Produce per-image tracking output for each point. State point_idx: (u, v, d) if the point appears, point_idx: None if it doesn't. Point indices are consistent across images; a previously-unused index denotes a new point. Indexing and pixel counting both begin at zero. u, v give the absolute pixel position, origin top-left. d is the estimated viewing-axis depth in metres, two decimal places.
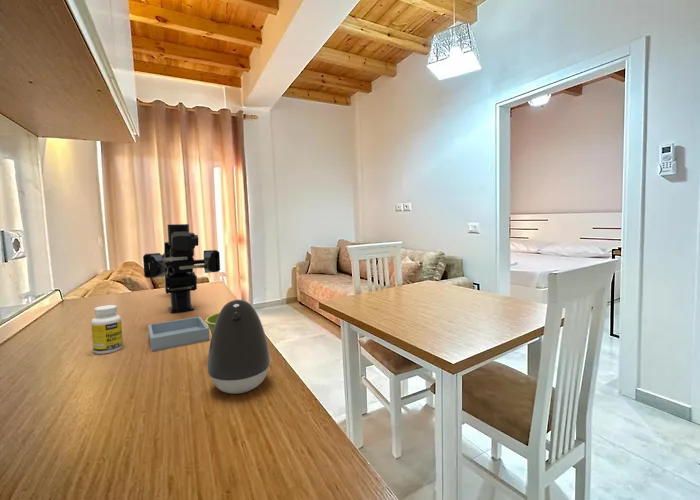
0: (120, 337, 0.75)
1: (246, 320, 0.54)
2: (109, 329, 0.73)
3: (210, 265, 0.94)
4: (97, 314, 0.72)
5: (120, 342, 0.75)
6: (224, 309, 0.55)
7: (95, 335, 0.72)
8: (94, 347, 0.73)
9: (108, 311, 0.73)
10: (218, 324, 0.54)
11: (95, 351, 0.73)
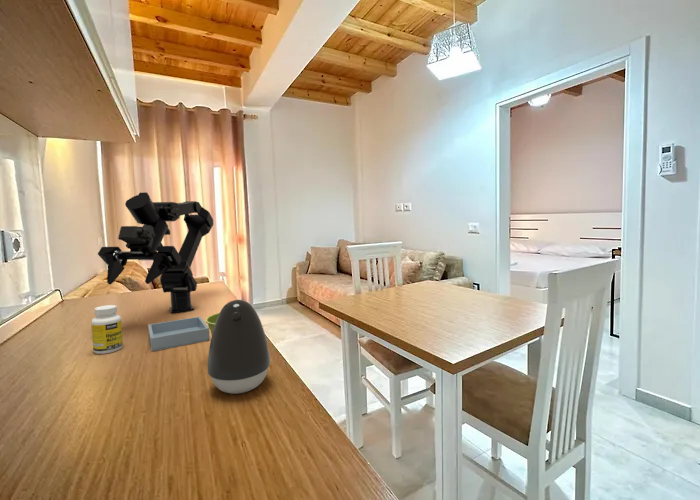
0: (120, 337, 0.75)
1: (246, 320, 0.54)
2: (109, 329, 0.73)
3: (165, 264, 0.87)
4: (97, 314, 0.72)
5: (120, 342, 0.75)
6: (224, 309, 0.55)
7: (95, 335, 0.72)
8: (94, 347, 0.73)
9: (108, 311, 0.73)
10: (218, 324, 0.54)
11: (95, 351, 0.73)
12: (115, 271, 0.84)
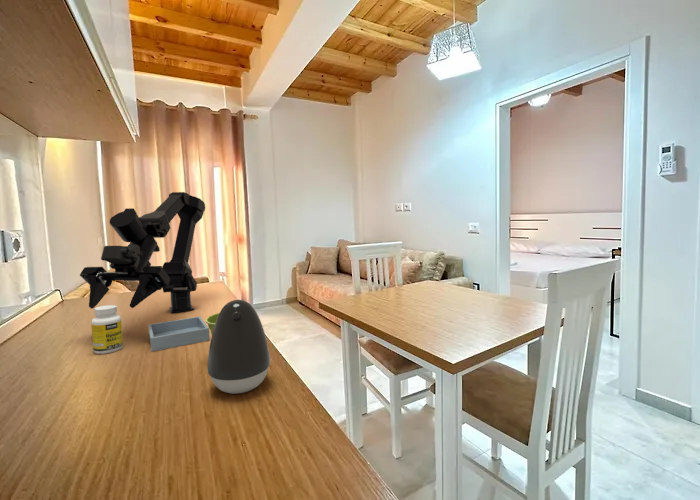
0: (120, 337, 0.75)
1: (246, 320, 0.54)
2: (109, 329, 0.73)
3: (152, 285, 0.81)
4: (97, 314, 0.72)
5: (119, 342, 0.75)
6: (224, 309, 0.55)
7: (95, 335, 0.72)
8: (94, 347, 0.73)
9: (108, 311, 0.73)
10: (218, 324, 0.54)
11: (95, 351, 0.73)
12: (98, 293, 0.79)
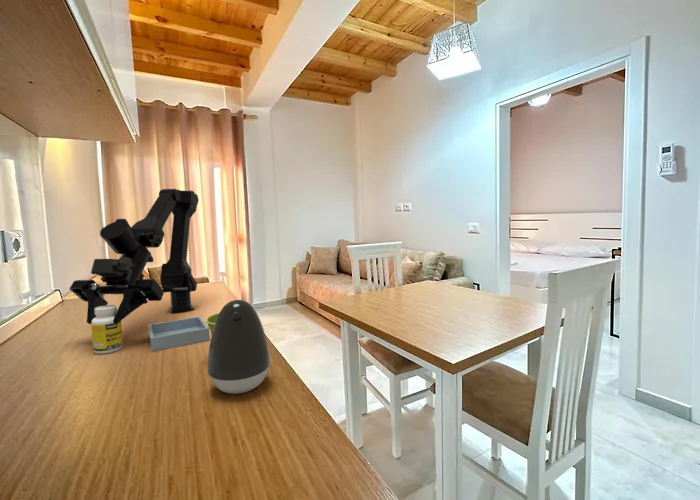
0: (120, 337, 0.75)
1: (246, 320, 0.54)
2: (109, 329, 0.73)
3: (137, 299, 0.78)
4: (97, 314, 0.72)
5: (119, 341, 0.75)
6: (224, 309, 0.55)
7: (95, 335, 0.72)
8: (94, 347, 0.73)
9: (108, 311, 0.73)
10: (218, 324, 0.54)
11: (95, 351, 0.73)
12: None
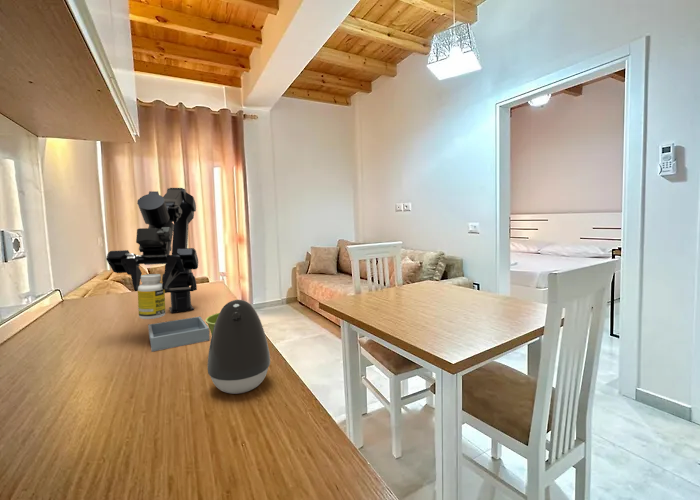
0: (164, 303, 0.79)
1: (246, 320, 0.54)
2: (158, 295, 0.77)
3: (177, 267, 0.82)
4: (146, 281, 0.76)
5: (164, 308, 0.79)
6: (224, 309, 0.55)
7: (144, 301, 0.75)
8: (142, 313, 0.76)
9: (156, 278, 0.77)
10: (218, 324, 0.54)
11: (144, 317, 0.76)
12: (138, 276, 0.78)
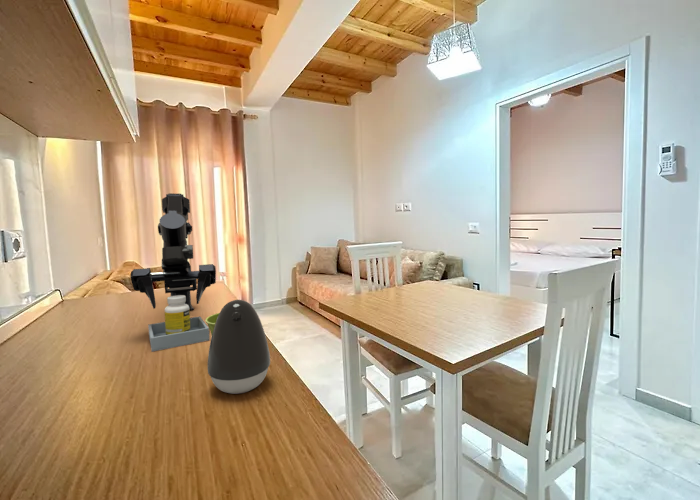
0: None
1: (246, 320, 0.54)
2: (185, 315, 0.81)
3: (204, 282, 0.87)
4: (174, 303, 0.79)
5: None
6: (224, 309, 0.55)
7: (173, 322, 0.79)
8: (171, 333, 0.79)
9: (183, 299, 0.81)
10: (218, 324, 0.54)
11: None
12: None
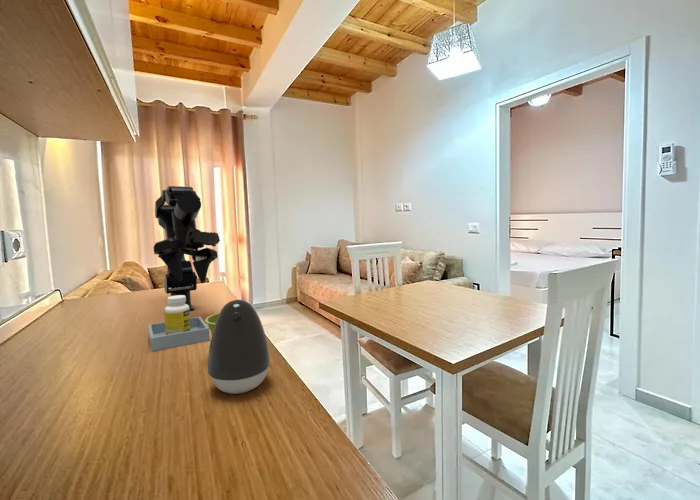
0: None
1: (246, 320, 0.54)
2: (185, 315, 0.81)
3: None
4: (174, 303, 0.79)
5: None
6: (224, 309, 0.55)
7: (173, 322, 0.79)
8: (171, 333, 0.79)
9: (183, 299, 0.81)
10: (218, 324, 0.54)
11: None
12: None
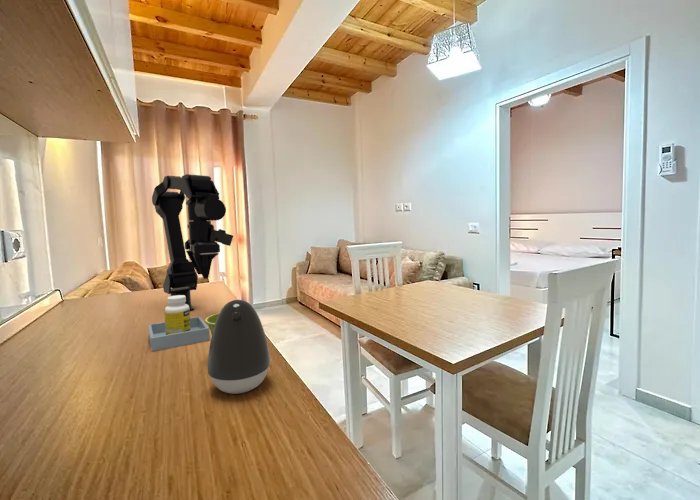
0: None
1: (246, 320, 0.54)
2: (185, 315, 0.81)
3: None
4: (174, 303, 0.79)
5: None
6: (224, 309, 0.55)
7: (173, 322, 0.79)
8: (171, 333, 0.79)
9: (183, 299, 0.81)
10: (218, 324, 0.54)
11: None
12: None
